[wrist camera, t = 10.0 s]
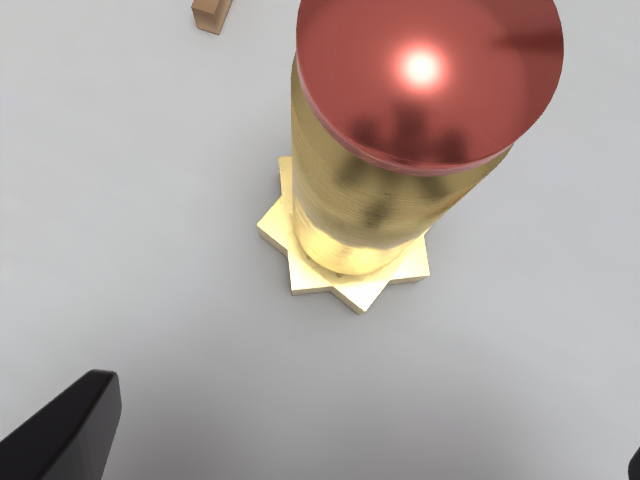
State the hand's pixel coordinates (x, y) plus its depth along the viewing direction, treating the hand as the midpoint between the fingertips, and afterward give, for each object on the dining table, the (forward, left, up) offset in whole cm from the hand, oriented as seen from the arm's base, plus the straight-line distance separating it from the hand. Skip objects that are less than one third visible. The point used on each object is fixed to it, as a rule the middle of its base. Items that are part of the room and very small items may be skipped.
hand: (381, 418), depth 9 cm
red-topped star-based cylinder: (+6, +1, -13) cm, 14 cm away
